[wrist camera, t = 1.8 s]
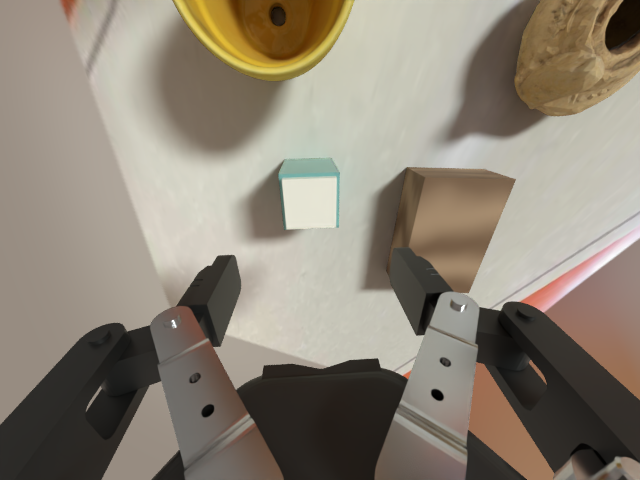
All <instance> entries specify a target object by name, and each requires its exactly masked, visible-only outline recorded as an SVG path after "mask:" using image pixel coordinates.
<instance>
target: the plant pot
mask: <svg viewBox="0 0 640 480" xmlns="http://www.w3.org/2000/svg"><path fill="white" fill-rule="evenodd" d="M172 1H173V2H174V4H175V6H176V8H177V10H178V12H179V13H180V15H181V17H182V18H183V20H184V21H185V23H186V24H187V26H188V27H189V29H190V30H191V31H192V32H193V34H194V35H195V36H196V38H197V39H198V40H199V41H200V42H201V43H202V44H203V45H204V46H205V47H206V48H207V49H208V50H209V51H210V52H211V53H212V54H213V55H215V56H216V57H217V58H218V59H220V60H221V61H222V62H224V63H225V64H227V65H228V66H230V67H232V68H233V69H235V70H237V71H239V72H241V73H243V74H245V75H248V76H250V77H253V78H257V79H261V80H267V81H281V80H288V79H292V78H295V77H298V76H300V75H302V74H304V73H306V72H307V71H309V70H310V69H312V68H313V67H314V66H316V65H317V64H318V63H319V62H320V61H321V60H322V59H323V58H324V57H325V56H326V55H327V53H328V52H329V51H330V50H331V48H332V47H333V45H334V44H335V42H336V41H337V39H338V37H339V35H340V34H341V32H342V30H343V28H344V26H345V23H346V21H347V19H348V17H349V14H350V12H351V9H352V6H353V3H354V0H172ZM276 6H280V7H281V8H283V10H284V11H285V15H286V20H285V23H284V24H283V25H282V26H277V25H275V24H274V23H273V22H272V20H271V12H272V10H273V8H274V7H276Z"/></svg>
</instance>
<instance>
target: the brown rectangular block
mask: <svg viewBox="0 0 640 480" xmlns="http://www.w3.org/2000/svg"><path fill="white" fill-rule="evenodd" d="M515 180H516V179H513V178H510V177H507V176H503V175H500V174H497V173H494V172H491V171H488V170H485V169H456V168H417V167H407V169H406V174H405V179H404V184H403V189H402V194H401V199H400V204H399V209H398V214H397V219H396V224H395V229H394V234H393V239H392V244H391V249H390V254H389V259H388V264H387V270H386V271H387V273H388V275H389V273H390V266H391V258H392V251H393V249H394V248H399V247H410V248H411V249H412V251H413V252H414V253H415V255H416V256H421V257H423V258H424V259H426V260H427V261H429V262H430V263H431V264H432V266H433V267H434V269H436V270H437V272H438V273H439V275H441V276H442V278H443V279H444V280H445V281H446V282H447V284H448V285H449V286H450V287H451V289H452V290H453V291H454V292H458V293H469V291H470V289H471V286H472V284H473V281H474V279H475V277H476V274H477V272H478V269H479V267H480V265H481V262H482V260H483V257H484V255H485V253H486V250H487V248H488V245H489V243H490V240H491V238H492V236H493V233H494V231H495V228H496V226H497V224H498V221H499V219H500V216H501V214H502V212H503V209H504V207H505V204H506V202H507V200H508V197H509V195H510V192H511V190H512V187H513V185H514V183H515Z"/></svg>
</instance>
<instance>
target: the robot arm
mask: <svg viewBox="0 0 640 480" xmlns="http://www.w3.org/2000/svg"><path fill="white" fill-rule="evenodd" d="M389 277H390V283H391V286H392V288H393V290H394V292H395V294H396V296H397V298H398V300H399V302H400V304H401V306H402V308H403V310H404V312H405V314H406V316H407V318H408V320H409V322H410V324H411V326H412V328H413V330H414V332H415V334H416V336H417V335H424V338H423V341H422V343H421V346H420V349H419V352H418V354H417V357H416V360H415V363H414V365H413V368H412V371H411V374H410V376H409V379H407V378H405V377H404V376H402V375H400V374H398V373H396V372H393V371H391V370H387V369H384V368H381V367H380V364H379V360H378V358H377V359H361V360H349V361H346V362H343V363H340V364H337V365H334V366H331V367H327V368H324V369H317V368H312V367H307V366H301V365H295V364H282V365H266V366H264V368H263V374H262V376H259V377H257V378H254V379H252V380H250V381H248V382H247V383H245V384H244V385H242V386H241V387H239V388H238V389H237V390H236V389H235V388H234V386H233V384H232V382H231V380H230V378H229V376H228V374H227V372H226V371H225V369H224V367H223V365H222V363H221V361H220V359H219V357H218V355H217V354H216V352H215V350H214V348H213V347H220V346H221V343H222V341H223V338H224V335H225V332H226V330H227V327H228V324H229V321H230V319H231V316H232V313H233V311H234V308H235V305H236V302H237V300H238V297H239V294H240V291H241V279H240V275H239V270H238V266H237V261H236V257H235V256H234V255H220V256H217V258H216V259H215V261H214V263H213V264H212V266H207V267H205V268H204V269H203V270H201V271H200V272H199V273H198V274H197V276H196V277H195V279H194V281H193V282H192V283H191V285H190V287H189V288H188V289H187V291H186V292H185V294H184V295H183V297H182V298H181V300H180V301H179V303H178V304H177V306H176V307H173V308H170V309H168V310H165V311H163V312H162V313H160V314H159V315H158V316H156V318H154V320H153V321H152V322H151V325H150V326H146V327H142V328H139V329H135V330H131V331H128V332H127V331H126V329H125V327H124V326H123V325H122V324H120V323H111V324H106V325H103V326H100V327H98V328H96V329H93V330H92V331H90V332H88V333H87V334H85V335H84V336H83V337H82V338H81V339H79V341H78V342H77V343H76V344H75V345H74V346H73V347H72V348H71V349H70V350H69V351H68V352H67V354H65V356H64V357H63V358H62V359H61V360H60V361H59V362H58V363H57V364H56V365H55V366H54V368H53V369H52V370H51V371H50V372H49V373H48V374H47V375H46V376H45V377H44V378H43V379H42V381H41V382H40V383H39V384H38V385H37V386H36V387H35V388H34V389H33V390H32V391H31V392H30V393H29V394H28V396H27V397H26V398H25V399H24V400H23V401H22V402H21V403H20V404H19V405H18V407H16V409H15V410H14V411H13V412H12V413H11V414H10V415H9V416H8V417H7V418H6V419H5V420H4V422H3V423H2V424H1V425H0V480H101V479H102V477H103V475H104V473H105V471H106V470H107V468H108V466H109V464H110V462H111V460H112V458H113V456H114V454H115V452H116V450H117V448H118V446H119V444H120V442H121V440H122V438H123V436H124V434H125V432H126V430H127V428H128V427H129V425H130V423H131V421H132V419H133V417H134V415H135V413H136V411H137V409H138V407H139V405H140V403H141V401H142V399H143V397H144V395H145V393H146V391H147V389H148V387H149V385H151V384H154V383H157V382H160V381H162V385H163V389H164V392H165V396H166V400H167V404H168V408H169V411H170V415H171V419H172V423H173V426H174V430H175V434H176V438H177V441H178V445H179V449H180V450H179V451H178V452H177V453H176V454H175V455H174V456H173V457H172V458H171V459H170V460H169V461H168V462H167V464H166V465H165V466H164V467H163V468H162V469H161V470H160V471H159V472H158V473H157V474H156V476H154V477H153V479H152V480H527V479H526V478H524V477H523V476H522V475H521V474H520V473H518V472H517V471H516V470H515V469H514V468H513V467H511V466H510V465H509V464H508V463H507V462H506V461H504V460H503V459H502V458H501V457H499V456H498V455H497V454H496V453H495V452H494V451H493V450H491V449H490V448H489V447H488V446H487V445H486V444H484V443H483V442H482V441H481V440H480V439H479V438H477V437H476V436H475V435H474V434H473V433H471V432H470V431H469V430H468V425H469V417H470V408H471V400H472V392H473V383H474V376H475V367H476V362H478V363H483V364H485V366H486V368H487V369H488V370H489V372H490V374H491V375H492V377H493V378H494V380H495V381H496V383H497V385H498V386H499V388H500V389H501V391H502V392H503V394H504V396H505V397H506V399H507V400H508V402H509V403H510V405H511V406H512V408H513V409H514V411H515V413H516V414H517V416H518V417H519V419H520V420H521V422H522V423H523V425H524V427H525V428H526V430H527V431H528V433H529V434H530V436H531V438H532V439H533V441H534V442H535V444H536V445H537V447H538V448H539V450H540V452H541V453H542V455H543V456H544V458H545V459H546V461H547V462H548V464H549V466H550V467H551V469H552V470H553V472H554V473H555V474H554V477H553V480H640V400H639V399H638V398H637V397H635V396H634V395H633V394H632V393H631V392H630V391H629V390H628V389H627V388H626V387H624V386H623V385H622V384H621V383H620V382H619V381H618V380H617V379H616V378H614V377H613V376H612V375H611V374H610V373H609V372H608V371H607V370H606V369H605V368H604V367H602V366H601V365H600V364H599V363H598V362H597V361H596V360H595V359H594V358H593V357H591V356H590V355H589V354H588V353H587V352H586V351H585V350H584V349H582V347H580V346H579V345H578V344H577V343H576V342H575V341H574V340H573V339H572V338H571V337H569V336H568V335H567V334H566V333H565V332H564V331H563V330H562V329H561V328H560V327H558V326H557V325H556V324H555V323H554V322H553V321H552V320H551V319H550V318H549V317H547V316H546V315H545V314H544V313H543V312H541V311H540V310H538V309H537V308H535V307H533V306H530V305H528V304H525V303H521V302H507V303H505V304H504V305H503V307H502V310H501V311H498V310H492V309H486V308H481V307H479V306H478V304H477V303H476V302H475V301H474V300H473V299H472V298H470V297H468V296H466V295H464V294H461V293H458V292H454V291H453V290H452V289H451V287H450V286H449V285H448V284H447V282H446V281H445V280H444V279H443V278H442V276H441V275H439V273H438V272H437V270H436V269H434V267H433V266H432V264H431V263H430V262H429V261H427V260H426V259H424V258H423V257H421V256H416V255H415V253H414V252H413V251H412V249H411V248H410V247H399V248H394V249H393V251H392V258H391V266H390V273H389ZM530 360H532V362H533V363H534V364H535V365H536V366H537V367H538V368H539V370H540V371H541V372H542V374H543V375H544V377H545V379H546V382H547V385H546V384H545V383H544V382H543V380H542V379H541V377H540V376H539V375H538V374H537V373H536V372H535V370H534V369H533V368H532V367H531V365H530V364H529V361H530ZM100 386H101V388H102V390H101V391H100V392H99V394H98V395H97V397H96V398H95V400H94V401H93V403H92V404H91V406H90V407H89V408H88V410H87V412H86V408H87V406H88V404H89V402H90V400H91V399H92V397H93V396H94V394H95V393H96V391H97V390H98V388H99V387H100Z"/></svg>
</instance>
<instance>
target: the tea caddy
mask: <svg viewBox="0 0 640 480" xmlns="http://www.w3.org/2000/svg"><path fill="white" fill-rule="evenodd" d="M278 176H279V186H280V196H281V205H282V215H283V225H284V230H290V229H314V228H338V227H339V178H340V172H339V170H338V168H337V167H336V165H335V163H334V161H333V160H332V158H309V159H285V160H284V162H283V165H282V167H281V169H280V172H279V174H278Z"/></svg>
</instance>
